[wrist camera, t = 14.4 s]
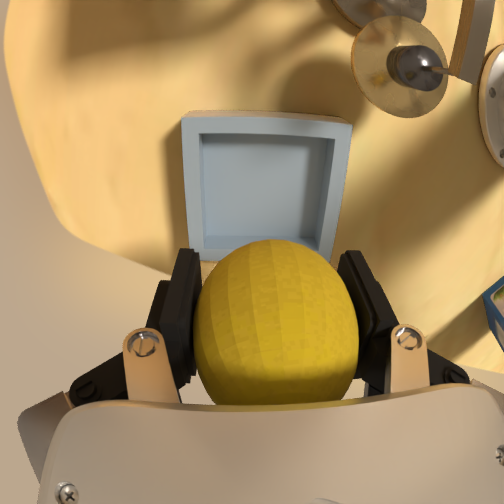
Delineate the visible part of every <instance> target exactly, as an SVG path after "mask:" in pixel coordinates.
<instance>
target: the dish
mask: <svg viewBox="0 0 504 504" xmlns="http://www.w3.org/2000/svg"><path fill="white" fill-rule="evenodd" d="M181 129H182V152H183V170H184V186H185V200H186V213H187V225H188V236H189V247H190V249H194V251H195V252H199V255H200V261H221V260H222V259H223V258H224V257H226V256H227V255H228V254H230V253H231V252H233V251H234V250H235V249H237V248H239V247H242V246H244V245H246V244H249V243H251V242H255V241H260V240H266V239H278V240H287V241H291V242H294V243H298V244H301V245H304V246H306V247H308V248H309V249H311V250H313V251H315V252H316V253H318V254H319V255H321V256H322V257H323V258H324V259H325V260H326V261H327V262H328V263H330V259H331V254H332V249H333V244H334V239H335V234H336V229H337V224H338V219H339V213H340V208H341V202H342V196H343V190H344V184H345V178H346V172H347V165H348V158H349V151H350V144H351V137H352V129H353V125H352V124H351V123H349V122H347V121H346V120H344V119H342V118H341V117H334V116H326V115H316V114H305V113H292V112H275V111H249V110H206V111H189V112H188V113H187V114H185V115H184V116H183V117H181Z"/></svg>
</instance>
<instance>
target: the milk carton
mask: <svg viewBox="0 0 504 504" xmlns="http://www.w3.org/2000/svg"><path fill="white" fill-rule="evenodd" d="M482 296H483V300H484V304H485V309H486V313H487V318H488V323H489V328H490V329H491V331H492V333H493V334H494V336H495V338H496V340H497V341H498V343H499V345H500V346H501V348H502V350H503V352H504V276H503V277H502V278H501V279H499V280H498V281H497V282H496V283H495V284H493V285H492V286H491V287H490V288H489V289H487V290H486V291H485V292H484V293H482Z"/></svg>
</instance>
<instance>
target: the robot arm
mask: <svg viewBox="0 0 504 504" xmlns="http://www.w3.org/2000/svg"><path fill="white" fill-rule="evenodd" d="M479 117H480V123H481V129H482V133H483V136H484V139H485V143H486V145H487V147H488V149H489V151H490V154H491V155H492V156H493V158H494V159H495V161H496V162H497V163H498V164H499V165H500V166H502V167H503V168H504V44H502V45H500V46H499V47H498V48H496V49H495V50H494V51H493V52H492V54H491V55H490V56H489V58H488V60H487V62H486V64H485V66H484V69H483V73H482V76H481V81H480V88H479ZM337 273H338V274H339V276H340V277H341V279H342V281H343V282H344V284H345V287H346V289H347V291H348V293H349V296H350V298H351V301H352V303H353V306H354V309H355V312H356V317H357V323H358V337H359V347H358V363H357V368H356V372H355V375H354V378H353V379H359V378H362V380H363V381H365V389H364V397H362V398H354V399H346V400H337V401H327V402H316V403H302V404H285V405H199V404H183V403H182V400H181V396H180V393H179V389H180V388H182V387H183V386H184V385H185V384H186V383H190V379H191V376H196V370H197V366H196V362H195V357H194V348H193V318H194V311H195V307H196V304H197V300H198V298H199V295H200V292H201V290H202V278H201V267H200V255H199V252H195V251H194V249H188V248H180V250H179V253H178V256H177V259H176V263H175V266H174V270H173V273H172V277H171V280H170V281H168V280H161V281H160V282H159V284H158V287H157V290H156V293H155V296H154V300H153V303H152V306H151V310H150V313H149V316H148V320H147V323H146V326H145V328H140V329H136V330H134V331H132V332H131V333H129V334H128V335H127V336H126V338H125V339H124V341H123V352H121V353H119V354H118V355H116V356H114V357H113V358H111V359H109V360H108V361H106V362H104V363H102V364H101V365H99V366H97V367H96V368H94V369H92V370H90V371H89V372H87V373H85V374H84V375H82V376H80V377H79V378H77V379H76V380H75V381H74V382H73V383H72V385H71V387H70V390H69V391H68V392H66V393H64V392H63V391H62V392H60V393H58V394H56V395H54V396H52V397H50V398H48V399H46V400H44V401H42V402H40V403H38V404H36V405H34V406H32V407H30V408H28V409H26V410H24V411H23V412H22V413H21V415H20V416H19V417H18V422H17V424H18V430H19V433H20V436H21V439H22V442H23V444H24V447H25V450H26V452H27V455H28V458H29V460H30V463H31V465H32V467H33V469H34V472H35V474H36V476H37V479H38V481H39V483H40V489H39V495H38V501H37V504H504V394H503V393H501V392H499V391H497V390H495V389H493V388H491V387H489V386H487V385H484V384H483V383H480V382H479V381H476V380H474V379H472V381H470V380H469V377H468V375H467V373H466V372H465V371H464V370H463V369H462V368H460V367H459V366H457V365H456V364H454V363H452V362H450V361H449V360H447V359H445V358H443V357H441V356H440V355H438V354H436V353H434V352H432V351H431V350H429V349H427V346H426V340H425V336H424V335H423V333H422V332H421V331H420V330H419V329H417V328H416V327H414V326H411V325H408V324H401V325H400V324H399V322H398V320H397V318H396V316H395V314H394V312H393V310H392V308H391V305H390V303H389V301H388V299H387V297H386V295H385V293H384V291H383V289H382V287H381V285H380V284H379V282H377V281H376V280H375V278H374V276H373V274H372V272H371V270H370V268H369V267H368V265H367V263H366V261H365V259H364V257H363V255H362V253H361V252H360V251H355V250H347V251H346V252H345V254H341V257H340V261H339V265H338V270H337Z"/></svg>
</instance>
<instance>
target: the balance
mask: <svg viewBox="0 0 504 504" xmlns="http://www.w3.org/2000/svg"><path fill="white" fill-rule="evenodd" d="M331 1H332V3H333V4H334V6H335V7H336V9H337V10H338V11H339V12H340V14H341V15H343V16H344V17H345V18H346V19H347V20H348V21H349V22H350V23H352V24H353V25H355V26H356V27H358V28H360V29H361V30H360V31H359V32H358V34H357V35H356V37H355V40H354V42H353V45H352V50H351V67H352V72H353V75H354V78H355V81H356V83H357V85H358V87H359V89H360V90H361V92H362V93H363V94H364V96H365V97H366V98H367V99H368V100H369V101H370V102H371V103H372V104H373V105H375V106H376V107H377V108H379V109H381V110H382V111H384V112H387V113H389V114H392V115H394V116H398V117H403V118H414V117H419V116H422V115H425V114H427V113H429V112H430V111H431V110H433V109H434V108H435V107H436V106H437V105H438V104H439V103H440V101H441V99H442V98H443V96H444V94H445V91H446V88H447V84H448V75H451V76H455V77H457V78H459V79H461V80H464V81H466V82H469V83H471V84H473V85H476V83H477V80H478V77H479V73H480V70H481V66H482V62H483V58H484V54H485V50H486V46H487V42H488V37H489V33H490V28H491V23H492V17H493V12H494V5H495V0H463V2H462V8H461V14H460V19H459V25H458V30H457V35H456V39H455V44H454V48H453V52H452V57H451V61H450V65H449V68H448V65H447V60H446V56H445V54H444V51H443V49H442V47H441V45H440V43H439V42H438V40H437V39H436V38H435V36H434V35H433V34H432V33H431V32H430V31H429V30H428V29H427V28H426V27H424V26H423V25H422V24H420V23H421V21H422V20H423V18H424V16H425V12H426V5H427V3H426V0H331Z"/></svg>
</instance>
